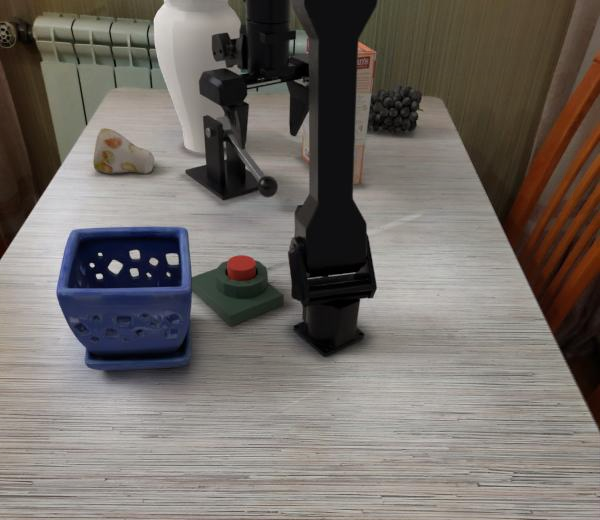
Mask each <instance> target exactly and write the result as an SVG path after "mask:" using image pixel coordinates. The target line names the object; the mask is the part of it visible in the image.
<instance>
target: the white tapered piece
mask: <svg viewBox="0 0 600 520" xmlns="http://www.w3.org/2000/svg"><path fill="white" fill-rule="evenodd" d="M92 160H93V162H92V163H93V168H94V170H96V171H98V172H100V173H103V174H107V175H108V174H109V175H112V174H113V175H114V174H124V173H136V174H137V173H138V174H143V175H146V174H150V173H151V172H152V171H153V169H154V165H155V156H154V155H153V153H152V151H150V150H147V149H144V148H141V147H139V146H137V145H136V144H134V143H133V142H131V141H130V140H129V139H127V138H126V137H125V136H124V135H122V134H121V133H119V132H118V131H116V130H114V129H111V128H104V127H103V128H100V130H99V132H98V134H97V137H96V141H95V147H94V152H93V159H92Z"/></svg>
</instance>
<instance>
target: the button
mask: <svg viewBox="0 0 600 520" xmlns="http://www.w3.org/2000/svg"><path fill="white" fill-rule="evenodd" d="M255 260H256V259H254V258H253V257H251V256H249V255H245V254H243V255H242V254H240V255H239V254H238V255H234V256H232V257H229V258H228V259H227V260H226V261H227V271H228V277H229V278H230V279H233V280H236V281H248V280H250V279H253V278H255V276H256V262H255Z"/></svg>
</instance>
